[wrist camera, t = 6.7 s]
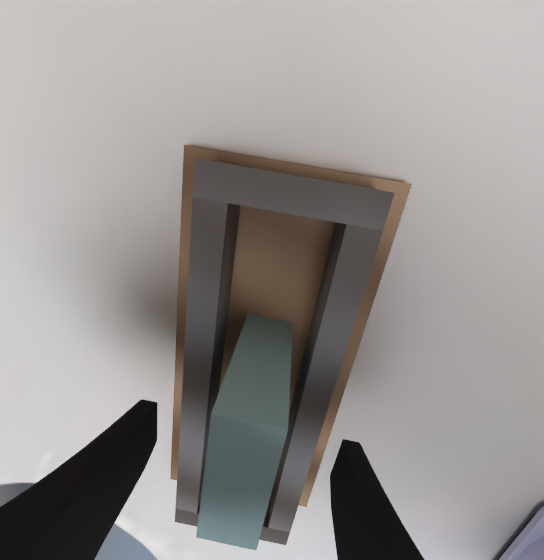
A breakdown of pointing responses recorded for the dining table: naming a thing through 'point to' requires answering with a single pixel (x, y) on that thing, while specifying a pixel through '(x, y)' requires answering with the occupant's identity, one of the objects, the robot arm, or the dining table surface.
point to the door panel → (247, 434)
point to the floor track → (273, 301)
